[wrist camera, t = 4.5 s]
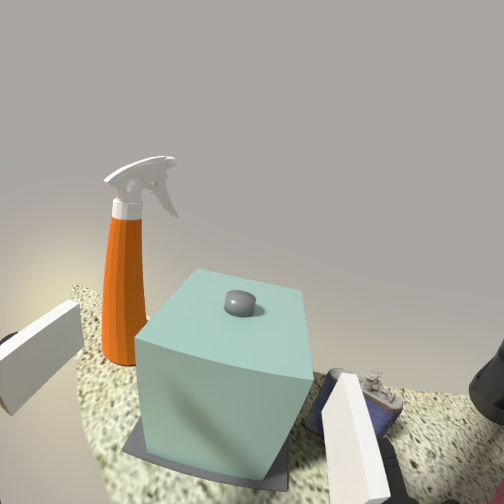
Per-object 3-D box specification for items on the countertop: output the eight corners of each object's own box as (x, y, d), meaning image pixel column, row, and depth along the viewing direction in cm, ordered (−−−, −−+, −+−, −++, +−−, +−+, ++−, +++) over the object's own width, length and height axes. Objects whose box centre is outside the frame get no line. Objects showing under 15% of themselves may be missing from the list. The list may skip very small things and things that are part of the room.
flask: (299, 426, 27) (331, 359, 24) (312, 414, 29) (343, 348, 26) (362, 462, 21) (412, 400, 18) (371, 447, 23) (417, 384, 20)
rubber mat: (287, 390, 33) (288, 387, 33) (285, 491, 18) (286, 490, 18) (172, 363, 34) (172, 361, 34) (122, 451, 18) (121, 449, 18)
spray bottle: (180, 350, 37) (203, 160, 30) (114, 372, 29) (117, 149, 22) (155, 326, 41) (171, 157, 34) (95, 342, 33) (97, 149, 26)
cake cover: (270, 389, 32) (303, 279, 28) (262, 480, 18) (320, 365, 14) (187, 370, 33) (198, 257, 29) (147, 452, 19) (133, 321, 15)
